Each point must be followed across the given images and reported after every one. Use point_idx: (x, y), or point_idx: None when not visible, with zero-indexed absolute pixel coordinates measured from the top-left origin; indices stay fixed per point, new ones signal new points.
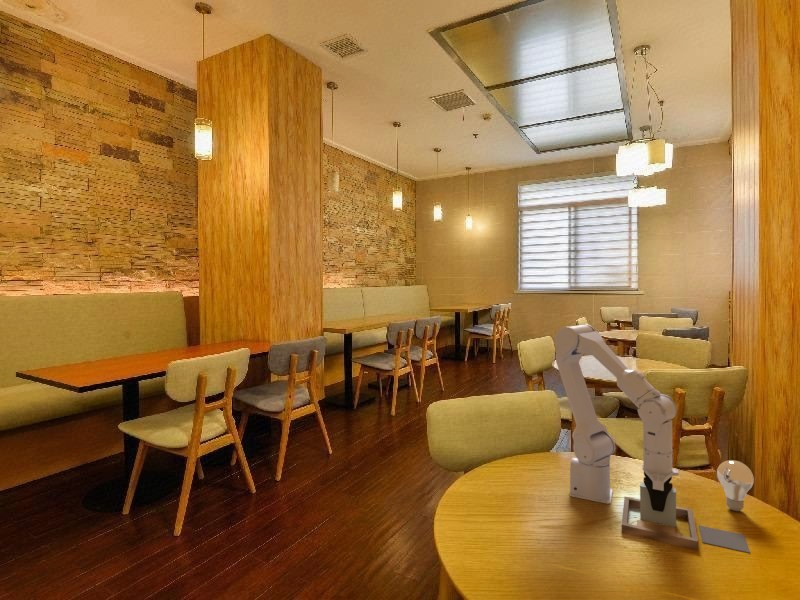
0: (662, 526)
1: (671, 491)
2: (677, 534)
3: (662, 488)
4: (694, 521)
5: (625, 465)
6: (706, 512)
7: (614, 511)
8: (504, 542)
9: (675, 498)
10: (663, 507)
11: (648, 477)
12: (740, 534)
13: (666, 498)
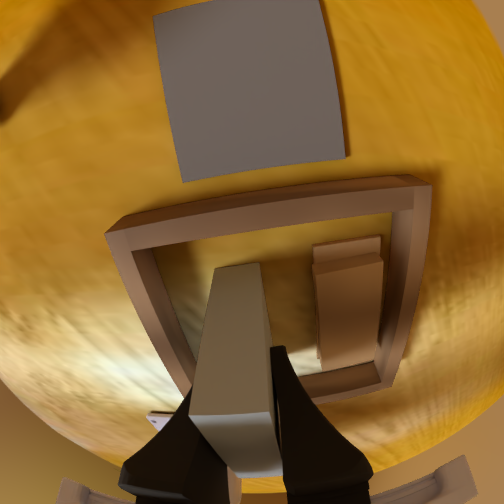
0: (333, 310)
1: (268, 425)
2: (329, 251)
3: (466, 465)
4: (236, 208)
5: (14, 376)
6: (45, 180)
7: None
8: (439, 426)
9: (266, 374)
10: (288, 362)
11: (225, 496)
12: (161, 24)
13: (312, 402)
